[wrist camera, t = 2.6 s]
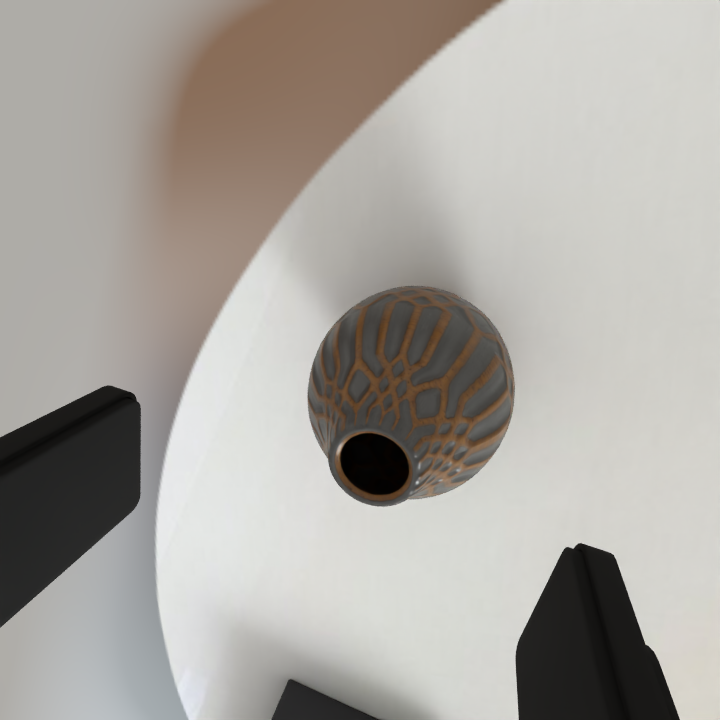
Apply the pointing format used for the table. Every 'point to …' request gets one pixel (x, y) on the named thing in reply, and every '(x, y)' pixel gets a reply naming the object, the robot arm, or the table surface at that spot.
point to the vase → (410, 395)
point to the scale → (312, 706)
